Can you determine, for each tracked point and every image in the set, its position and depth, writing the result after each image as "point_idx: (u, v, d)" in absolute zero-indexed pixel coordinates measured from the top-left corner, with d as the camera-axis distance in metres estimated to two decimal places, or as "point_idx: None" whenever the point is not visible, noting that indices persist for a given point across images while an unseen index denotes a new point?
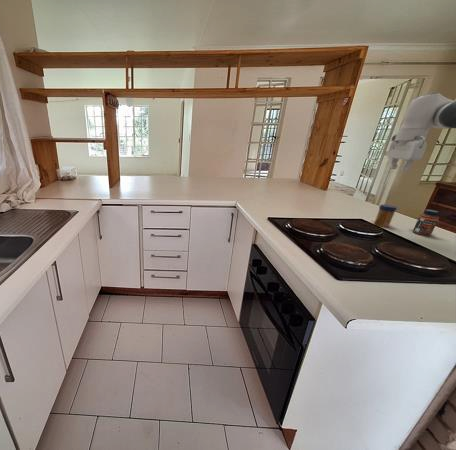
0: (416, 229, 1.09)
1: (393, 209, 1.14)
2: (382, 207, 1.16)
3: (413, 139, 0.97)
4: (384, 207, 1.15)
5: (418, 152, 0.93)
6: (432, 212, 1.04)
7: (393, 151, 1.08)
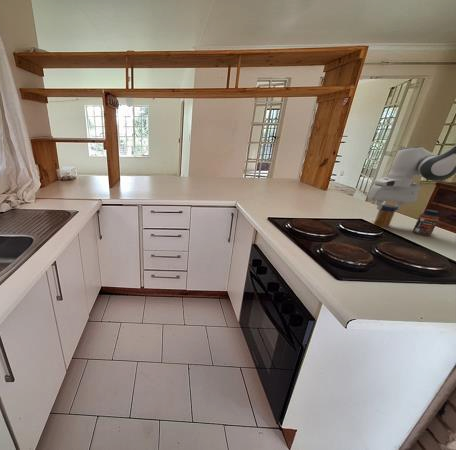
0: (416, 229, 1.09)
1: (393, 209, 1.14)
2: None
3: None
4: (384, 207, 1.15)
5: None
6: (432, 212, 1.04)
7: (383, 195, 1.13)
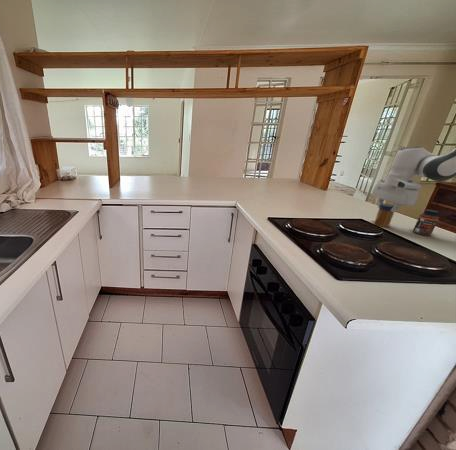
0: (416, 229, 1.09)
1: None
2: None
3: None
4: None
5: None
6: (432, 212, 1.04)
7: None
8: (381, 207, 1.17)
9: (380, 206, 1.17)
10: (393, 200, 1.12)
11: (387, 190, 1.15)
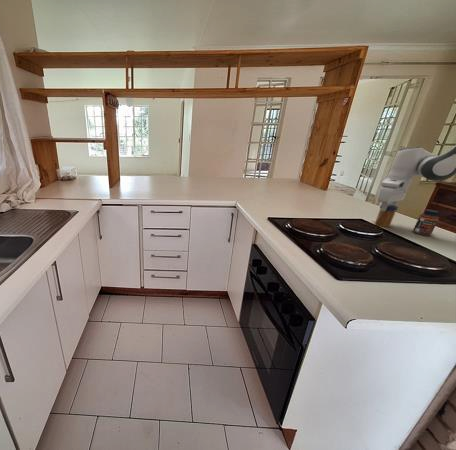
0: (416, 229, 1.09)
1: None
2: (394, 208, 1.14)
3: None
4: (396, 208, 1.14)
5: None
6: (432, 212, 1.04)
7: (392, 196, 1.11)
8: None
9: (381, 206, 1.17)
10: None
11: None
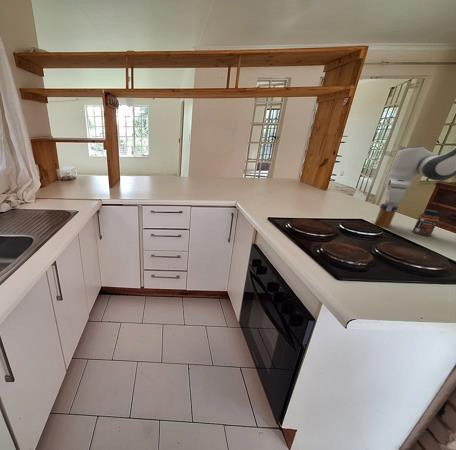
0: (416, 229, 1.09)
1: None
2: None
3: None
4: None
5: None
6: (432, 212, 1.04)
7: None
8: None
9: None
10: (387, 199, 1.13)
11: (390, 190, 1.16)
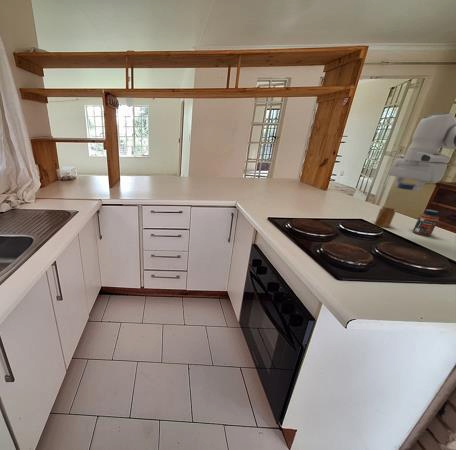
0: (416, 229, 1.09)
1: None
2: None
3: None
4: None
5: None
6: (432, 212, 1.04)
7: None
8: None
9: None
10: (415, 177, 0.97)
11: (408, 166, 1.00)
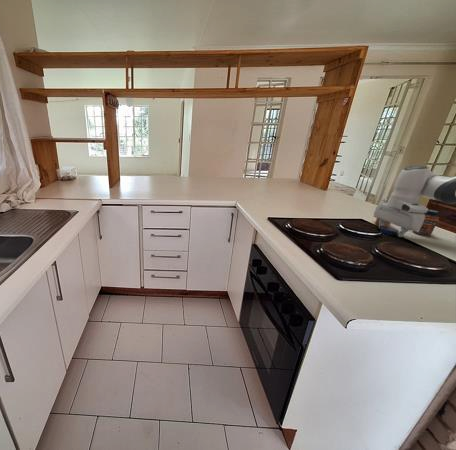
0: None
1: None
2: None
3: None
4: None
5: None
6: (432, 212, 1.04)
7: None
8: (394, 233, 1.06)
9: (393, 232, 1.06)
10: (397, 223, 1.03)
11: (390, 212, 1.07)
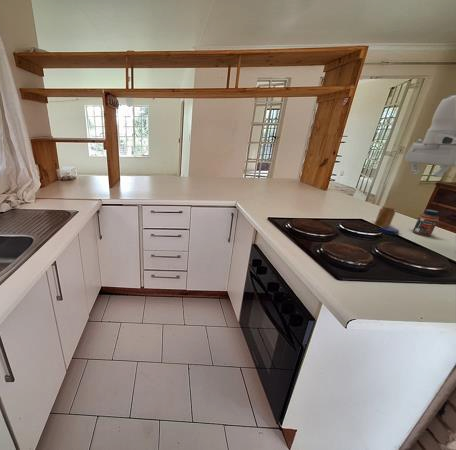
0: (416, 229, 1.09)
1: None
2: None
3: None
4: None
5: None
6: (432, 212, 1.04)
7: None
8: (394, 233, 1.06)
9: (393, 232, 1.06)
10: (435, 161, 0.91)
11: (426, 151, 0.95)
